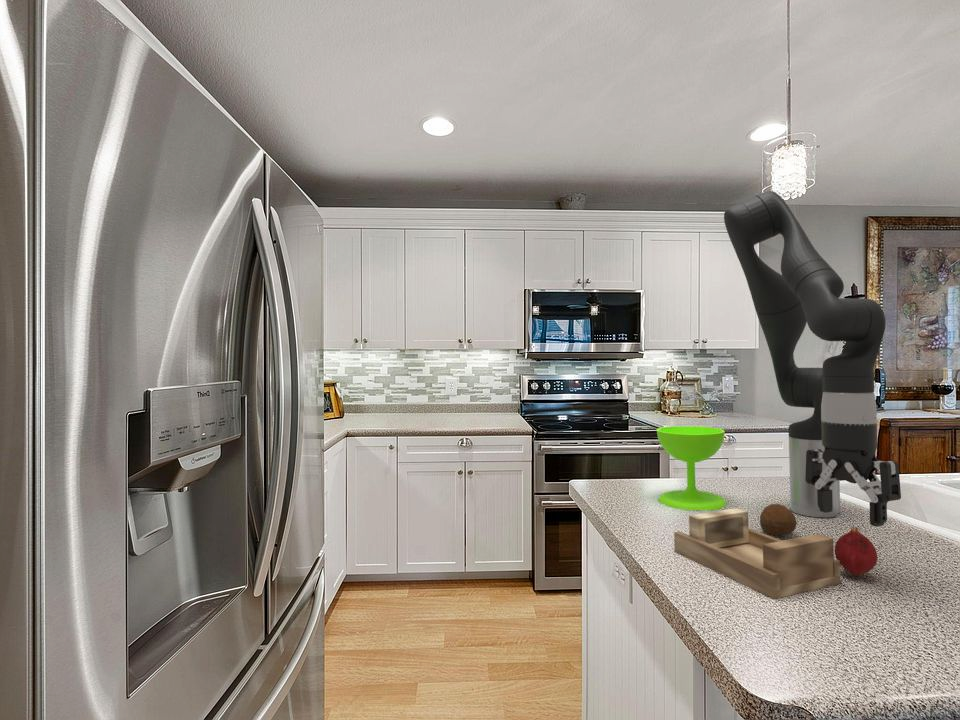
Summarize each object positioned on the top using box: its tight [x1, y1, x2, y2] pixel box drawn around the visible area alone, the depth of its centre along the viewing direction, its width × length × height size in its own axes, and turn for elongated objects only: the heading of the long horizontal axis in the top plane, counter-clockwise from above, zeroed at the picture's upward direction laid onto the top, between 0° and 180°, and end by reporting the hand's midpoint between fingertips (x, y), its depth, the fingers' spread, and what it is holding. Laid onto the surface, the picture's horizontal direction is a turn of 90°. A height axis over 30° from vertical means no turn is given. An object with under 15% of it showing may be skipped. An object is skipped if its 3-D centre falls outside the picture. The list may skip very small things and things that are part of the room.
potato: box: [759, 503, 798, 538], centre depth 109 cm, size 7×10×6 cm
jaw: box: [688, 507, 750, 548], centre depth 100 cm, size 12×2×6 cm, turn 110°
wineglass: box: [656, 425, 727, 511], centre depth 135 cm, size 16×16×18 cm
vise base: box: [673, 528, 841, 600], centre depth 93 cm, size 14×22×7 cm, turn 20°
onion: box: [834, 526, 878, 577], centre depth 88 cm, size 6×6×8 cm
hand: (850, 518), depth 88 cm, fingers open, 8 cm apart
